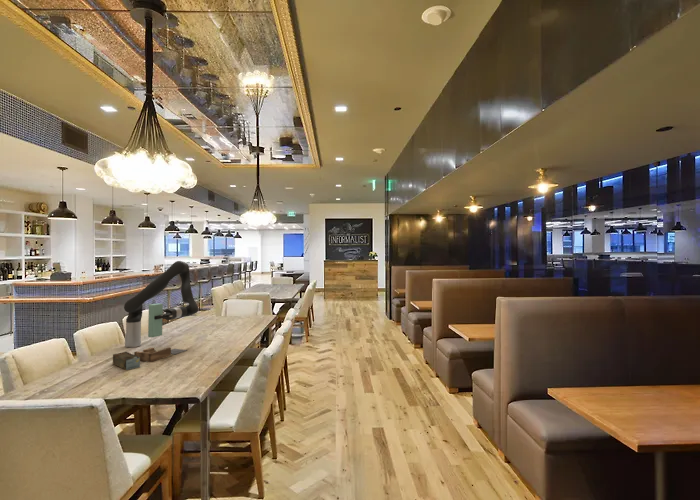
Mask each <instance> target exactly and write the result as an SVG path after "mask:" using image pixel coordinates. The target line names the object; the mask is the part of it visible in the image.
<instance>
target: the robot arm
mask: <svg viewBox="0 0 700 500" xmlns="http://www.w3.org/2000/svg"><path fill="white" fill-rule="evenodd" d="M178 275H179V276H180V280H181V281H180V283H181V284H180V285H181V286H180V294H181V299H182V302H183V303H187V304H188V305H187V306H186V305H185V306H177V307H170V308H166V309H164V311H163V313H162V315H158V316H155V317H154V319H155V320H157V319H162V320H166V321H171V320H176V319H178V318H182V317H183V318H184V317H190V316H193V315H195V314H197V313H198V311H199V305H198V304H197V302H196V300H195V297H194V296H193V291H192V285H191V278H190V265H189V264H188V262H185V261H181V260H177V261H174V262H173V263H172V264H171V265H170V266H169V267H168V268H167V269H166V270H165V271H164V272H162V274H160V275H158V277H156V278H155V279H154V280H152V281H151V282H150V283H149V284H148V285H146V286H145V287H144V288H143V289H142V290H141V291H140V292H139V293H138V294H136V295H135V296H133V297H131V298H130V299H129V300H127V301H126V302H125V303H124V305H123V309H124V311H125V312H126V313H128V315H127V316H126V318H125V334H124V348H136V347H140V346H141V345H142V318H143V305H144V303H146V302H147V301H149V300H151V299H152V298H154V297H155V296H157V295H159V294H160V293H161V292H163V291H164V290H165V289H166V288H167V286H168V285H169V283H170V282H171V281H172V279H173V278H175V277H176V276H178Z"/></svg>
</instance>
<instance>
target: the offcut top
mask: <svg viewBox="0 0 700 500" xmlns="http://www.w3.org/2000/svg"><path fill="white" fill-rule="evenodd" d="M154 350H155V347H148V348H147V347H146V348H144V349H143V350H142V352H147V353H153V352H154Z"/></svg>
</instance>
